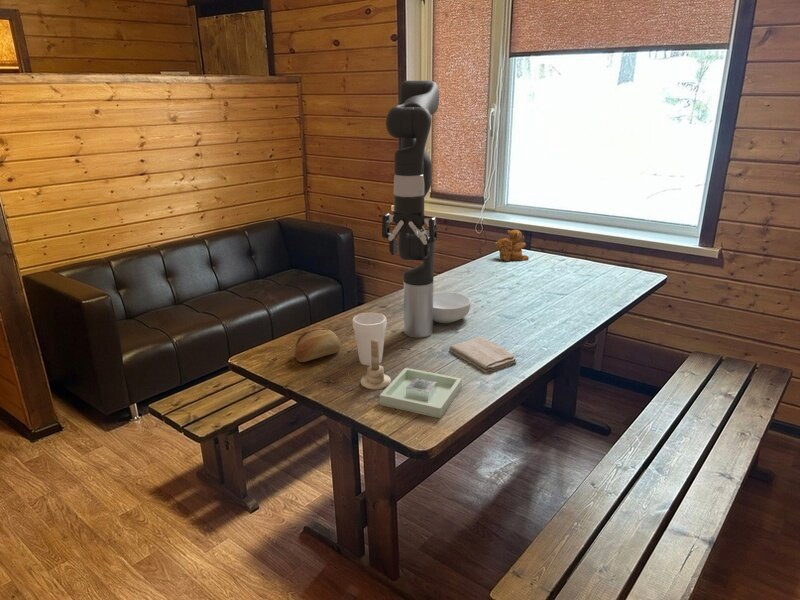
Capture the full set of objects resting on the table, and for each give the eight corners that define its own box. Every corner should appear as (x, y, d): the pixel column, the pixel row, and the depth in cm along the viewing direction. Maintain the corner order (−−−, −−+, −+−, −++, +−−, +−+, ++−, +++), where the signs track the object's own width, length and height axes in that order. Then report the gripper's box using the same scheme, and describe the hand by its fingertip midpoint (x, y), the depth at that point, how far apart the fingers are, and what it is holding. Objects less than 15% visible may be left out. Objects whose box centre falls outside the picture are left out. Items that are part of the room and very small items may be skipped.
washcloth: (487, 375, 159) (487, 365, 158) (447, 352, 173) (447, 342, 172) (519, 364, 165) (519, 354, 164) (477, 342, 179) (478, 333, 178)
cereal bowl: (467, 330, 186) (468, 310, 184) (416, 326, 190) (416, 306, 187) (472, 311, 202) (472, 292, 200) (424, 308, 205) (424, 289, 203)
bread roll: (286, 358, 169) (284, 333, 166) (328, 343, 178) (327, 319, 175) (305, 369, 162) (304, 343, 159) (348, 353, 172) (347, 328, 169)
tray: (405, 376, 157) (405, 367, 157) (461, 387, 151) (462, 378, 150) (379, 404, 144) (379, 395, 143) (440, 418, 138) (440, 408, 137)
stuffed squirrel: (530, 259, 260) (532, 230, 255) (505, 264, 254) (507, 235, 249) (515, 254, 268) (517, 226, 264) (491, 258, 262) (492, 230, 257)
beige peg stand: (369, 372, 160) (367, 332, 155) (395, 378, 157) (395, 337, 152) (355, 386, 153) (353, 344, 149) (382, 391, 150) (382, 349, 146)
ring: (415, 386, 151) (415, 377, 150) (436, 390, 149) (436, 382, 148) (405, 397, 146) (405, 388, 145) (428, 401, 144) (428, 392, 143)
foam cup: (347, 360, 167) (345, 318, 162) (371, 350, 173) (370, 310, 168) (369, 371, 161) (368, 328, 156) (393, 360, 167) (393, 318, 162)
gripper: (441, 192, 143) (440, 255, 149) (389, 188, 149) (390, 249, 154) (430, 197, 137) (430, 263, 143) (376, 193, 142) (377, 257, 148)
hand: (409, 256), depth 148 cm, fingers open, 8 cm apart
